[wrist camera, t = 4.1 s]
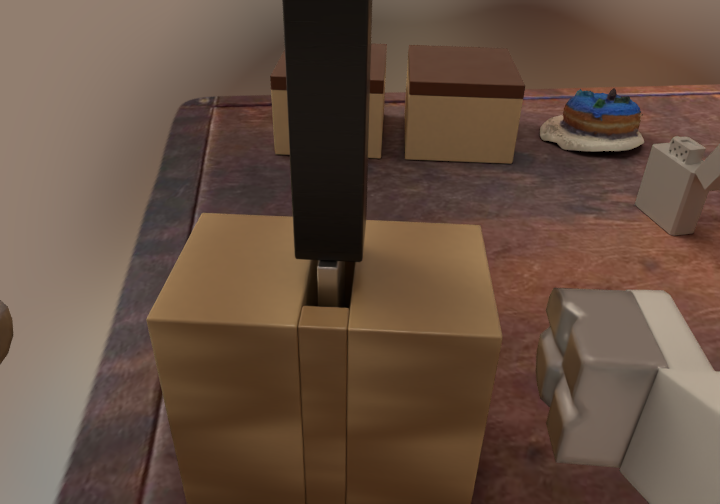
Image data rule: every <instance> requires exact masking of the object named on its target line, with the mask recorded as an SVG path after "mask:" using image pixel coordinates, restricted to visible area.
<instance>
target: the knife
mask: <svg viewBox="0 0 720 504" xmlns="http://www.w3.org/2000/svg"><path fill="white" fill-rule="evenodd" d="M283 21H284V43H285V64H286V85H287V106H288V127H289V148H290V169H291V191H292V212H293V233H294V254H295V258H296V259H303V260H319V261H318V266H317V280H318V307H338V308H345V262H361V261H362V260H363V250H364V239H365V228H366V211H367V175H368V139H369V102H370V66H371V29H372V27H371V26H372V0H283Z"/></svg>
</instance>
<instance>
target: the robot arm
mask: <svg viewBox="0 0 720 504" xmlns="http://www.w3.org/2000/svg"><path fill="white" fill-rule="evenodd" d="M546 313H547V316H548V320H549V323H550V327H549V328H548V329H546V330H545V331H544V332H543V333H542V334H540V338H539V343H538V348H537V356H536V378H537V386H538V391H539V395H540V399H541V400H542V401H543V402H545V403H546V404H547V405H548V406H549V407H550V410H549V414H548V418H547V422H546V424H547V428H548V432H549V436H550V440H551V444H552V448H553V452H554V456H555V460H556V462H558V463H570V464H582V465H593V466H605V467H616V468H620V470H619V471H620V472H621V473H622V474H623V475H624V476H625V477H626V479H627V480H628V481H629V482H630V483H631V484H632V485H633V486H634V487H635V488H636V489H637V491H638V492H639V493H640V494H641V495H642V496H643V497H644V498H645V499H646V500H647V502H648V503H649V504H720V372H716V371H714V369H713V368H712V366H711V364H710V363H709V361H708V359H707V357H706V356H705V354H704V352H703V351H702V349H701V347H700V345H699V344H698V342H697V340H696V339H695V337H694V335H693V334H692V332H691V330H690V328H689V327H688V325H687V323H686V322H685V320H684V318H683V316H682V315H681V313H680V311H679V310H678V308H677V306H676V305H675V303H674V301H673V299H672V298H671V296H670V295H669V294H668V293H666V292H665V291H663V290H626V291H619V290H595V289H571V288H553V290H552V292H551V294H550V296H549V300H548V304H547V308H546ZM12 338H13V324H12V317H11V315H10V312H9V309H8V306H6V305H5V304H4V303H3V302H2V301H1V300H0V364H1V363H2V361H3V360H4V358H5V357H6V355H7V354H8V351H9V348H10V344H11V341H12Z"/></svg>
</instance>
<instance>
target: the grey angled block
mask: <svg viewBox="0 0 720 504" xmlns="http://www.w3.org/2000/svg"><path fill="white" fill-rule="evenodd" d="M705 149H706V148H705V147H703V146H702V145H700V144H698V143H697V142H695V141H694V140H692V139H690V138H689V137H678V136H676V137H673V138H672V140H671V142H670V143H662V144H653V146H652V149H651V152H650V156H649V159H648V162H647V166H646V169H645V172H644V176H643V179H642V182H641V186H640V189H639V192H638V196H637V199H636V202H635V205H636V206H637V207H638V208H639V209H640V210H642V211H643V212H644V213H645V214H646V215H647V216H649V217H650V218H651V219H652V220H653V221H655V222H656V223H657V224H658V225H659V226H660V227H662V228H663V229H664V230H665V231H666V232H667V233H669V234H670V235H674V236H675V235H683V234H692V233H694V230H695V228H696V225H697V222H698V220H699V217H700V214H701V211H702V209H703V206H704V203H705V201H706V198H707V195H708V192H709V191H715V190H720V144H719V145H718V146H717V147H716V149H715V150H714V151H713V152H712V153H711V154H710V155H709V156H708V157H707V158H706V159H705V161H703V160H702V158H703V155H704V152H705Z"/></svg>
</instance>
